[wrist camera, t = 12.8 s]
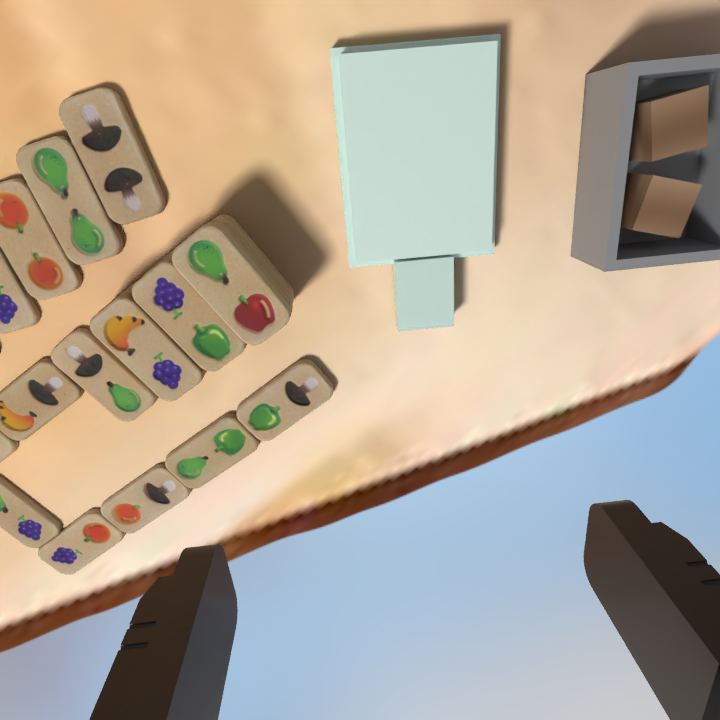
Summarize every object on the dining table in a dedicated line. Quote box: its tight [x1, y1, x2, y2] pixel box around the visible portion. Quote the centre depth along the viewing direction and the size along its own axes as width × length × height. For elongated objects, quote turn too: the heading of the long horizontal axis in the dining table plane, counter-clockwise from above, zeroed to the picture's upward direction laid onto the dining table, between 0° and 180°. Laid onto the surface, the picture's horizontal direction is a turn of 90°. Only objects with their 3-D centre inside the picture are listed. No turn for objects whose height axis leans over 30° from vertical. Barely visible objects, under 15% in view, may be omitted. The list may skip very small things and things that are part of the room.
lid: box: [329, 34, 501, 331], centre depth 34 cm, size 18×11×2 cm, turn 5°
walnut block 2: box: [620, 173, 702, 239], centre depth 34 cm, size 4×4×3 cm
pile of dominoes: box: [0, 87, 334, 574], centre depth 37 cm, size 35×27×6 cm
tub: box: [571, 54, 720, 272], centre depth 32 cm, size 12×9×5 cm
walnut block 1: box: [629, 85, 709, 162], centre depth 32 cm, size 4×4×3 cm
